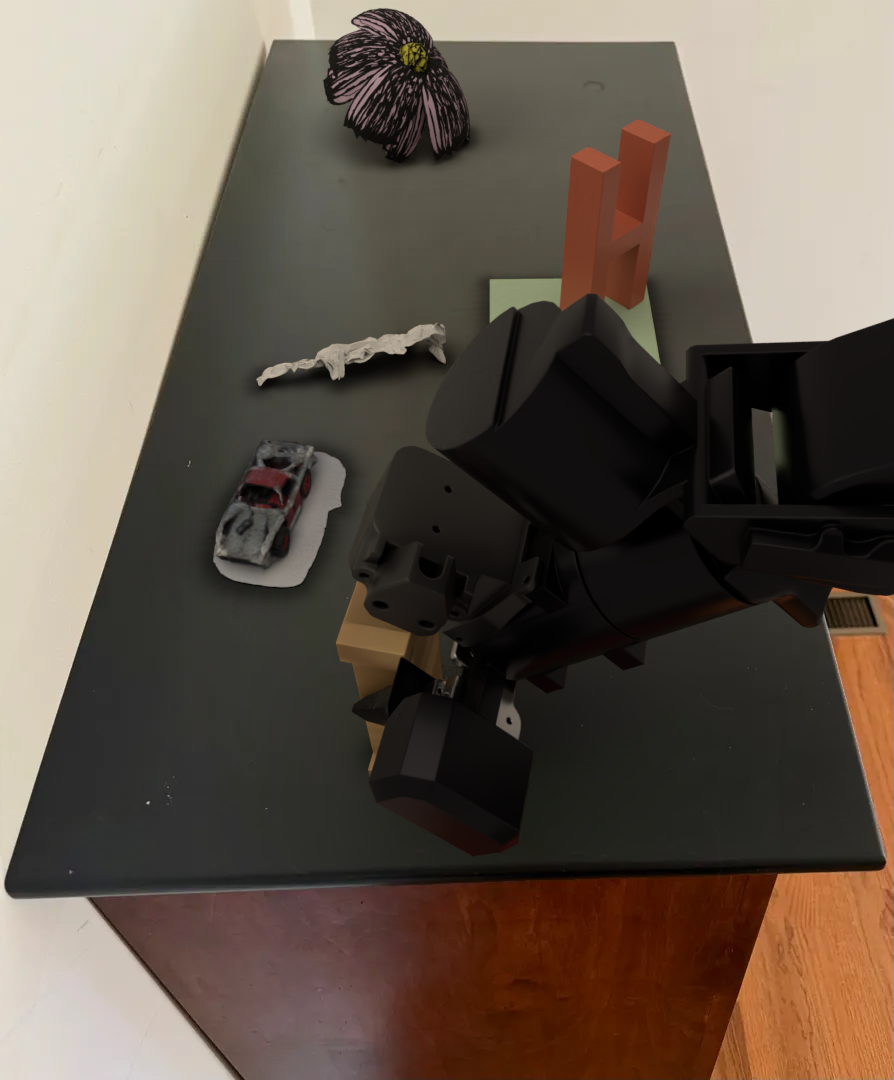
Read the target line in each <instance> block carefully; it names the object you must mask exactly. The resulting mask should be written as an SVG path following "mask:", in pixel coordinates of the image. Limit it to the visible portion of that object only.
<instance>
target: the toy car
mask: <svg viewBox="0 0 894 1080" xmlns="http://www.w3.org/2000/svg"><path fill="white" fill-rule="evenodd" d="M346 471H347V470H346V467H344V464H342V462H341V461H340V460H339V458H336V457H334V456H332V455H329V454H328V453H326V452H322V451H316V447H315V446H313V445H309V444H307V445H303V444H301V443H299V442H298V441H295V440H294V441H291V440H284V439H282V440H281V439H277V440H270V439H269V438H262V439H261V440H260V442H259V444H258V445H257V447H256V448H255V450H254V452H253V455H252V457H251V459H250V461H249V462H248V464H247V467H246V469H245V470H244V473H243V474H242V478H241V479H240V481H239V482H238V484H237V486H236V488H235V492H234V493H233V494H232V497H231V499H230V501H229V503H228V505H227V507H226V508H225V511H224V512H223V515H222V517H221V518H220V519H219V520H218V522H217V524H216V528H215V533H214V537H215V544H214V548H213V549H214V551H213V554H212V556H213V558H212V559H213V560H212V562H213V563H214V564H215V566H216V568H217V570H218V571H219V573H220V574H221V575H223V576H224V577H226V578H228V579H230V580H232V581H235V582H240V583H245V584H251V585H254V586H255V585H257V586H258V585H259V586H263V587H270V588H272V587H276V588H290V587H293V588H294V587H295V586H298V585H301V584H302V583H303V582H304V580H305V579H306V578H307V574H308V573H309V569H310V568H311V567H312V565H313V563H314V561H315V560H316V558H317V554H318V551H319V550H320V546H321V545H322V542H323V537H324V536H325V532H326V529H325V528H327V523H328V514H329V512H330V511H333V510H335V509H337V508H340V507H342V505H343V504H342V501H341V500H342V498H341V496H342V495H341V494H342V490H343V488H344V486H345V480H346V478H347V477H346V476H347V473H346Z"/></svg>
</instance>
